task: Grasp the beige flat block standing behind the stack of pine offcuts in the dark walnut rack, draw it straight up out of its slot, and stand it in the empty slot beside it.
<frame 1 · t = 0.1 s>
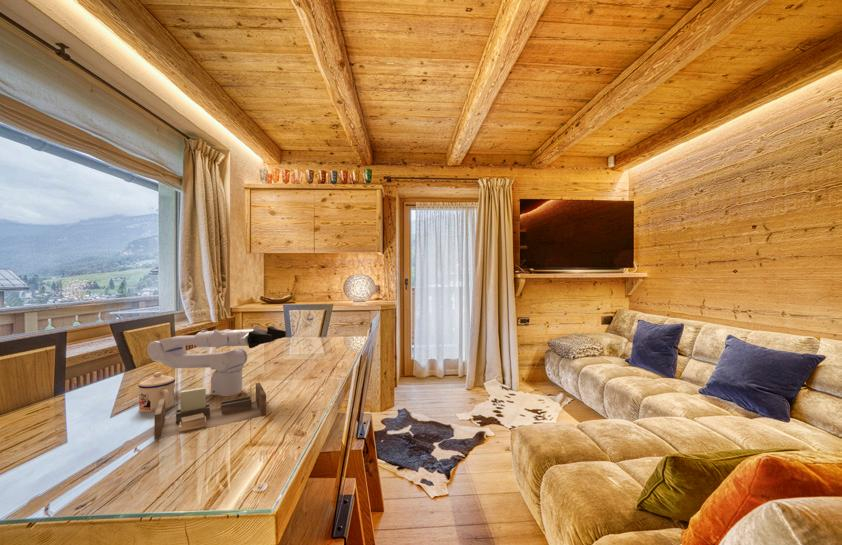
hand: (278, 336, 113), 22 cm above the table, tool horizontal, fingers open, 7 cm apart
rack: (213, 420, 96), on the table
offcut upper: (192, 421, 90), point 2 cm above the table, touching offcut lower
offcut lower: (192, 426, 90), point 1 cm above the table, touching offcut upper, rack
teacup with lid: (159, 411, 104), on the table
beige flat block: (193, 417, 96), point 1 cm above the table, touching rack
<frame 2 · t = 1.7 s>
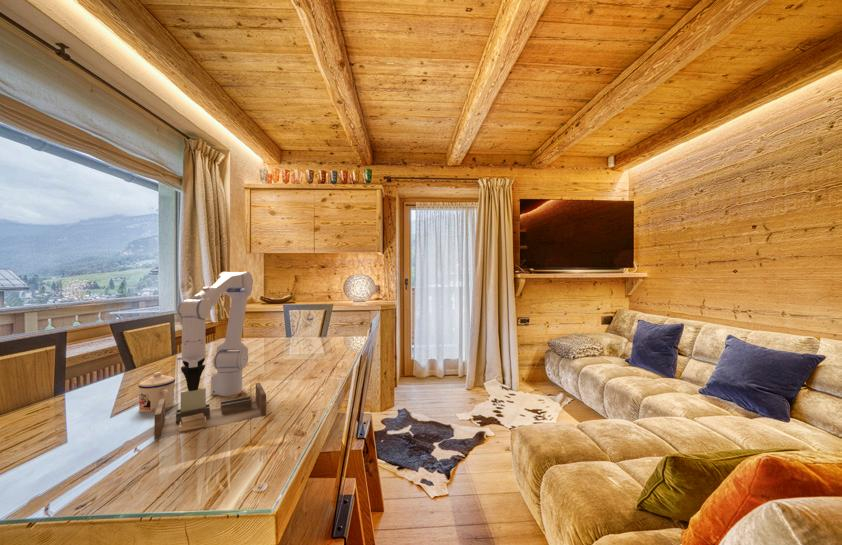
hand: (193, 386, 96), 10 cm above the table, tool pointing down, fingers open, 7 cm apart
nothing on the table moved.
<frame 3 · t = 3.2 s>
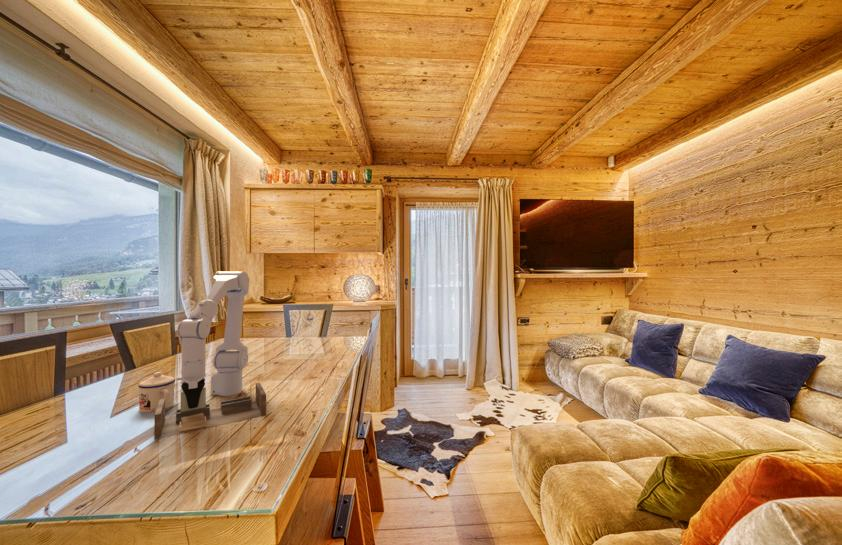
hand: (193, 406, 96), 4 cm above the table, tool pointing down, fingers closed on beige flat block, 1 cm apart
beige flat block: (193, 417, 96), point 1 cm above the table, touching gripper, rack
everything else where it was.
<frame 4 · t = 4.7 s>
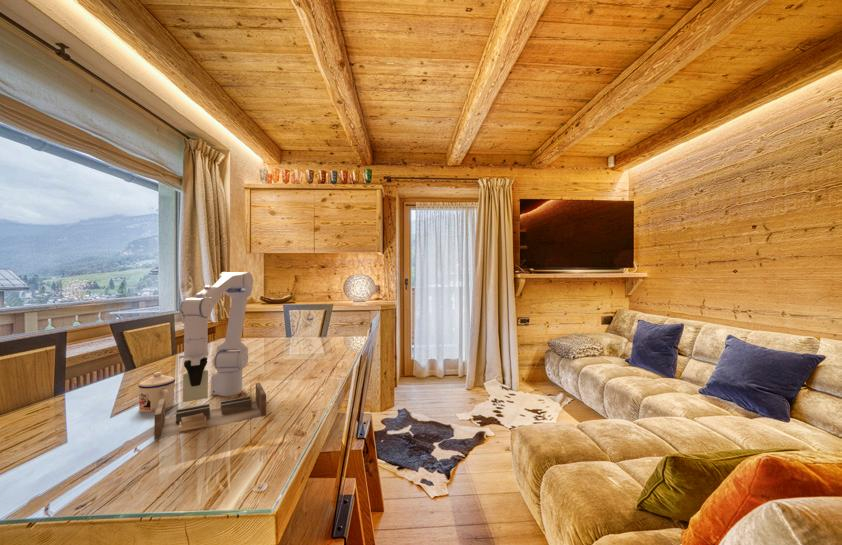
hand: (195, 384, 97), 10 cm above the table, tool pointing down, fingers closed on beige flat block
beige flat block: (195, 399, 97), point 6 cm above the table, touching gripper
everything else where it was.
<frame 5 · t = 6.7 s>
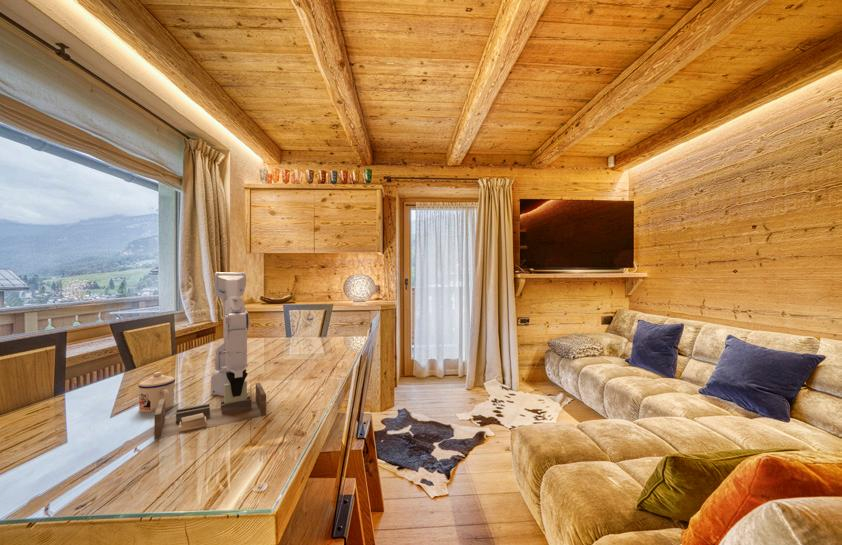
hand: (236, 395, 102), 5 cm above the table, tool pointing down, fingers closed on beige flat block, 1 cm apart
beige flat block: (235, 408, 102), point 1 cm above the table, touching gripper, rack
everything else where it was.
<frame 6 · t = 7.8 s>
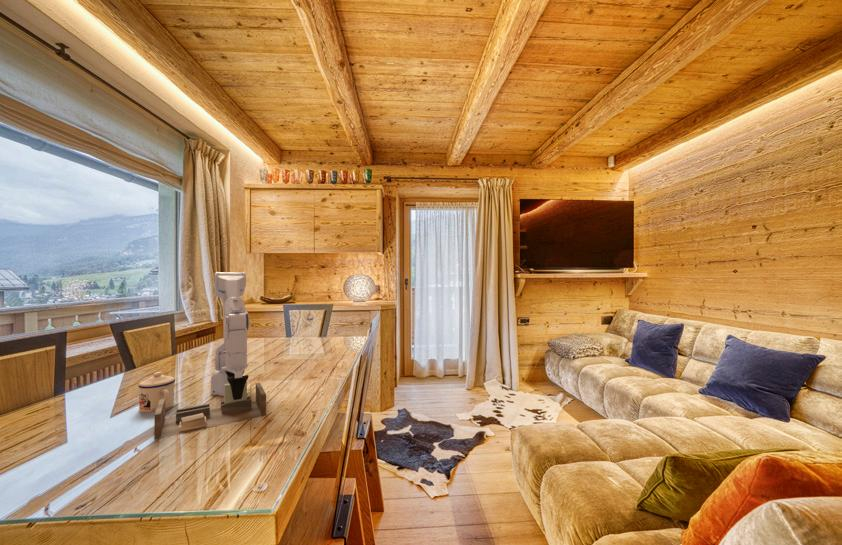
hand: (236, 395, 102), 5 cm above the table, tool pointing down, fingers open, 7 cm apart
beige flat block: (235, 408, 102), point 1 cm above the table, touching rack
everything else where it was.
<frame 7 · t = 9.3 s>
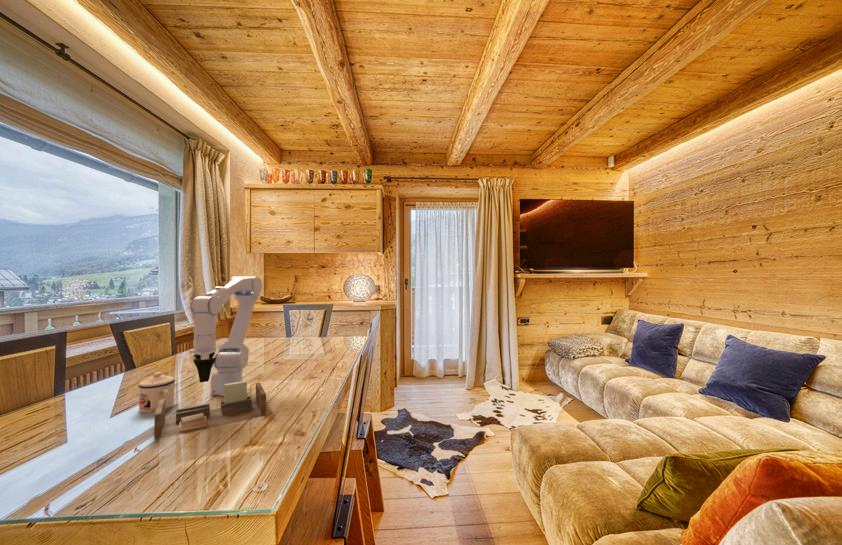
hand: (204, 378, 102), 10 cm above the table, tool pointing down, fingers open, 7 cm apart
nothing on the table moved.
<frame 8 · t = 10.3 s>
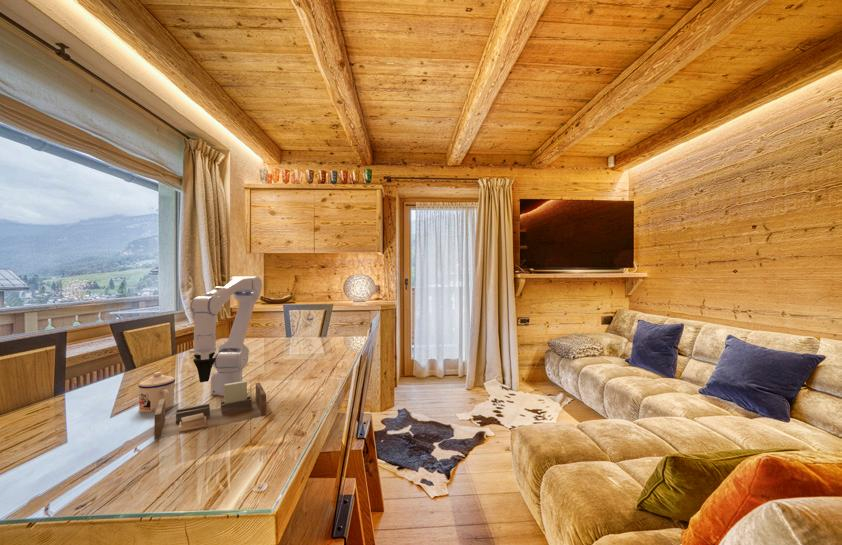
hand: (204, 378, 102), 10 cm above the table, tool pointing down, fingers open, 7 cm apart
nothing on the table moved.
at the end: beige flat block 0.2 cm from the target spot on the rack, point 1.0 cm above the rack's base; beige flat block tilted 0°; offcut upper moved 0.0 cm from its start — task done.
